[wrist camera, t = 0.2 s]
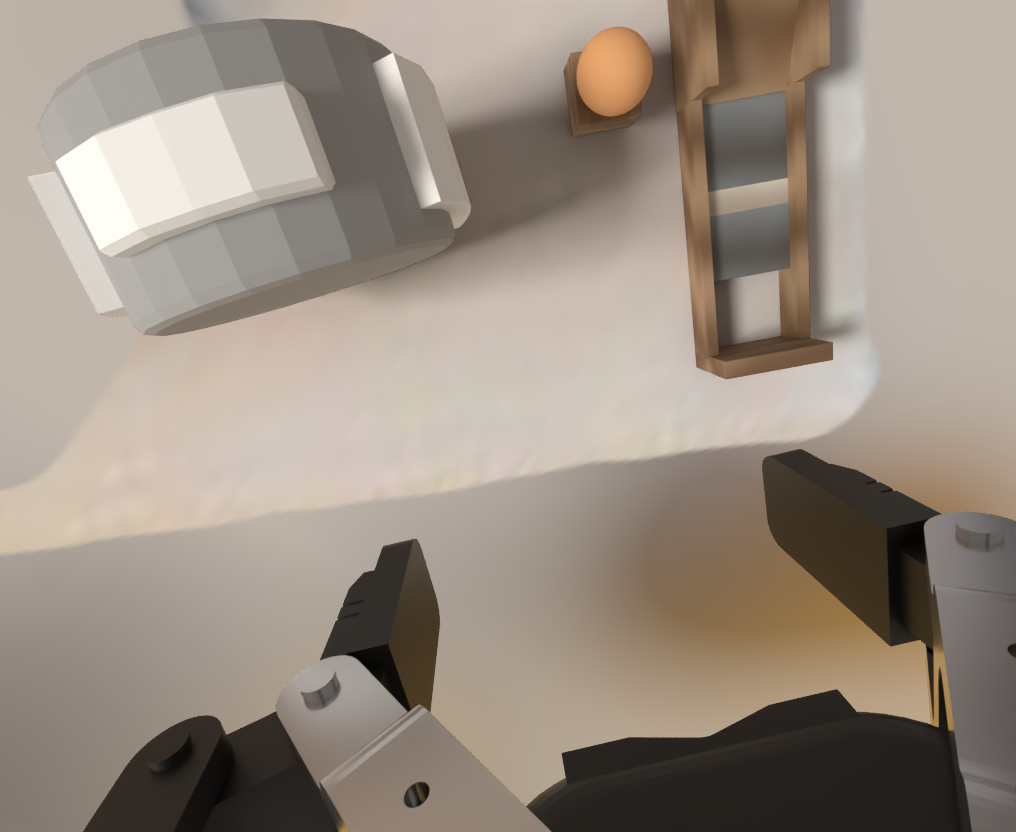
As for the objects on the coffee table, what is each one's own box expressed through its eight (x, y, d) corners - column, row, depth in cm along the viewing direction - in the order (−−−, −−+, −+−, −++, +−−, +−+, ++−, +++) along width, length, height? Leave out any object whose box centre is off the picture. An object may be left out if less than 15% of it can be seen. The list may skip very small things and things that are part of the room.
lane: (663, -47, 33) (695, -102, 28) (777, -67, 33) (828, -125, 28) (696, 367, 40) (726, 379, 35) (790, 350, 40) (832, 359, 36)
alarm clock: (440, 120, 35) (391, -78, 15) (479, 247, 37) (481, 213, 18) (189, 204, 35) (-165, 115, 16) (243, 324, 38) (-11, 375, 18)
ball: (566, 53, 32) (579, 19, 28) (635, 40, 32) (659, 4, 28) (575, 131, 33) (589, 109, 29) (643, 118, 33) (667, 95, 29)
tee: (563, 70, 35) (570, 53, 32) (622, 60, 35) (635, 42, 32) (572, 136, 36) (579, 125, 33) (629, 126, 36) (641, 114, 33)
